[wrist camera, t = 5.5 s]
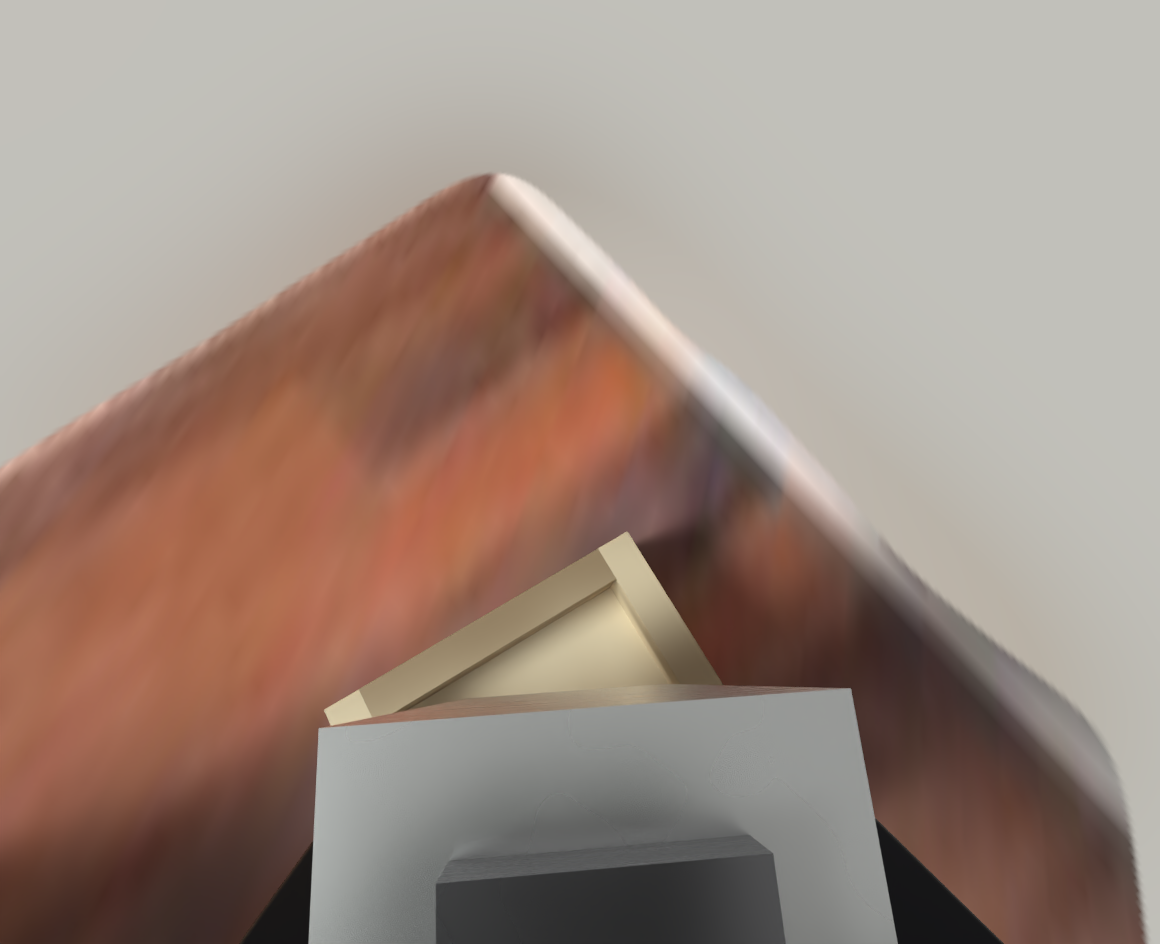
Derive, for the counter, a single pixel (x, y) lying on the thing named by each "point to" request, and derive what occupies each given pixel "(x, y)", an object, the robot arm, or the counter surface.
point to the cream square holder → (551, 642)
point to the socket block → (601, 821)
